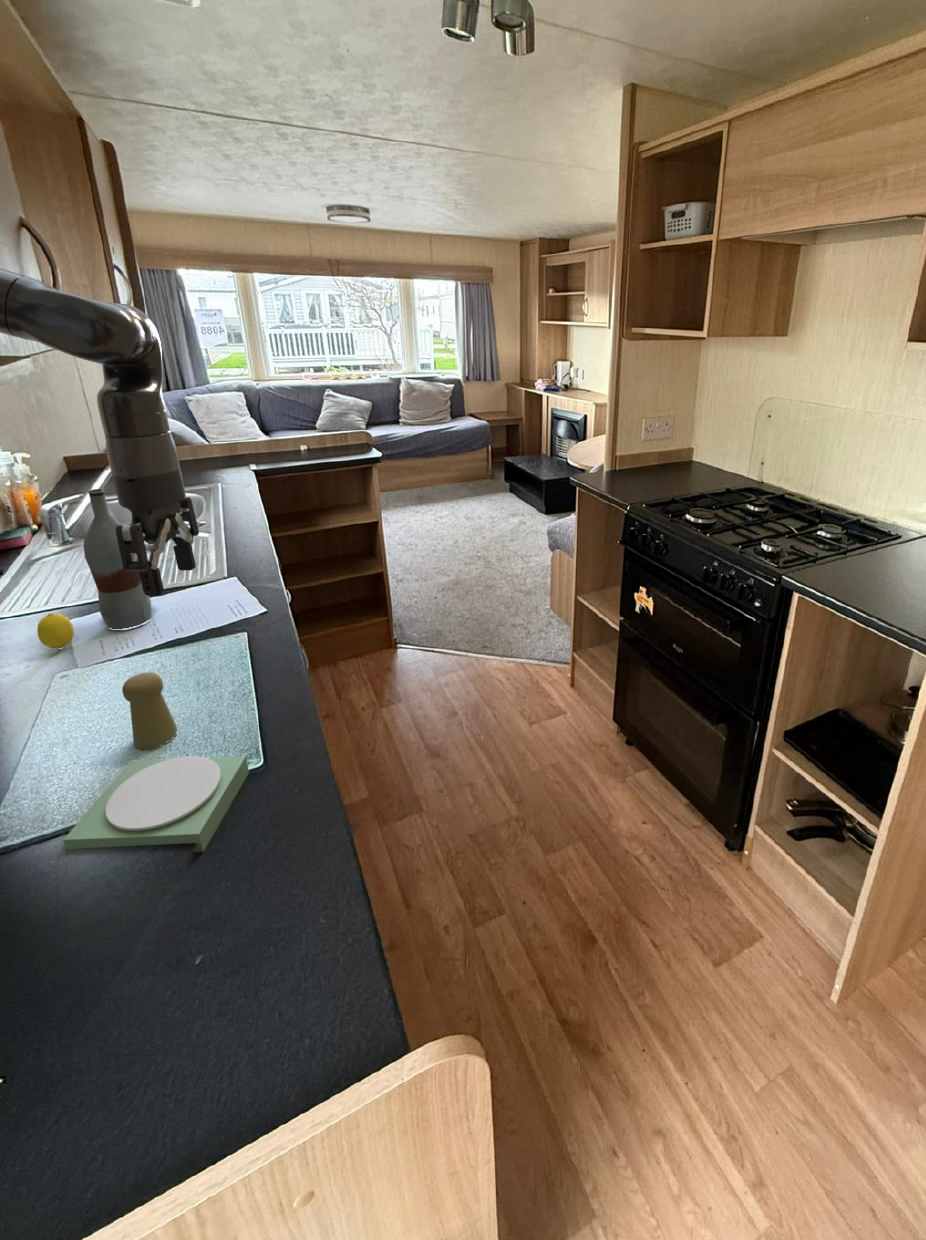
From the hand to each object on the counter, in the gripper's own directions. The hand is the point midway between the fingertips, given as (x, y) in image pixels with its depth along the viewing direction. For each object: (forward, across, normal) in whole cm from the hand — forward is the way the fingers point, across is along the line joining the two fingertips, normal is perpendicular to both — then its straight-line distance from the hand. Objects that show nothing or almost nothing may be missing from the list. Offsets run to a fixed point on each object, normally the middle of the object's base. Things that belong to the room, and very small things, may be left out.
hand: (171, 581), depth 82 cm
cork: (+28, -3, -10) cm, 30 cm away
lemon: (+28, -32, -44) cm, 61 cm away
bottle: (+28, -43, -36) cm, 63 cm away
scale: (+28, +13, 0) cm, 31 cm away
